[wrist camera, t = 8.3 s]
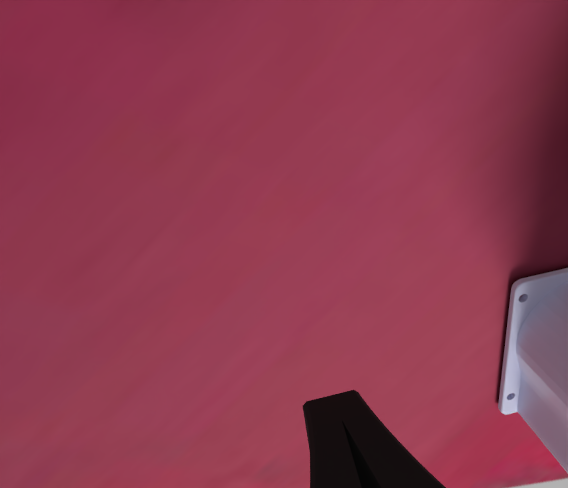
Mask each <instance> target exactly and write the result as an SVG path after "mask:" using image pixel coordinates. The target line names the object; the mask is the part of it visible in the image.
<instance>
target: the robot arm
mask: <svg viewBox="0 0 568 488" xmlns="http://www.w3.org/2000/svg"><path fill="white" fill-rule="evenodd" d="M521 295H522V296H521ZM520 296H521V297H520ZM519 297H520V298H519ZM498 409H499V410H500V411H501V412H502V413H503V414H511V413H515V412H518V413H519V414H520V415H521V416H522V418H523V419H524V420H525V421H526V423H527V424H528V425H529V426H530V427H531V429H532V430H533V431H534V432H535V434H536V435H537V436H538V437H539V439H540V440H541V441H542V442H543V443H544V445H545V446H546V447H547V448H548V450H549V451H550V452H551V453H552V455H553V456H554V457H555V458H556V459H557V461H558V462H559V463H560V464H561V466H562V467H563V468H564V469H565V470H566V472H567V473H568V268H565V269H560V270H556V271H552V272H547V273H543V274H539V275H534V276H530V277H526V278H521V279H519V280H517V281H516V282H514V284H513V285H512V288H511V295H510V304H509V313H508V322H507V331H506V340H505V349H504V358H503V367H502V376H501V385H500V395H499V404H498ZM303 411H304V417H305V424H306V430H307V436H308V443H309V449H310V488H446V487H444V486H443V485H442V484H441V483H440V482H439V481H438V480H437V479H436V478H435V477H434V476H433V475H432V474H431V473H429V472H428V471H427V470H426V469H425V468H424V467H423V466H422V465H421V464H420V463H419V462H418V461H417V460H416V459H415V458H414V457H413V456H412V455H411V454H410V453H409V452H408V450H407V449H406V448H405V447H404V446H403V445H402V444H401V443H400V442H399V441H398V440H397V439H396V438H395V437H394V436H393V435H392V433H391V432H390V431H389V430H388V429H387V428H386V427H385V426H384V424H383V423H382V422H381V421H380V420H379V419H378V417H377V416H376V415H375V414H374V413H373V411H372V410H371V409H370V408H369V406H368V405H367V404H366V402H365V401H364V400H363V399H362V397H361V396H360V394H359V393H358V392H357V391H355V390H351V391H347V392H343V393H339V394H335V395H331V396H327V397H323V398H319V399H315V400H311V401H307V402H306V403H305V404H304V405H303Z"/></svg>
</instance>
